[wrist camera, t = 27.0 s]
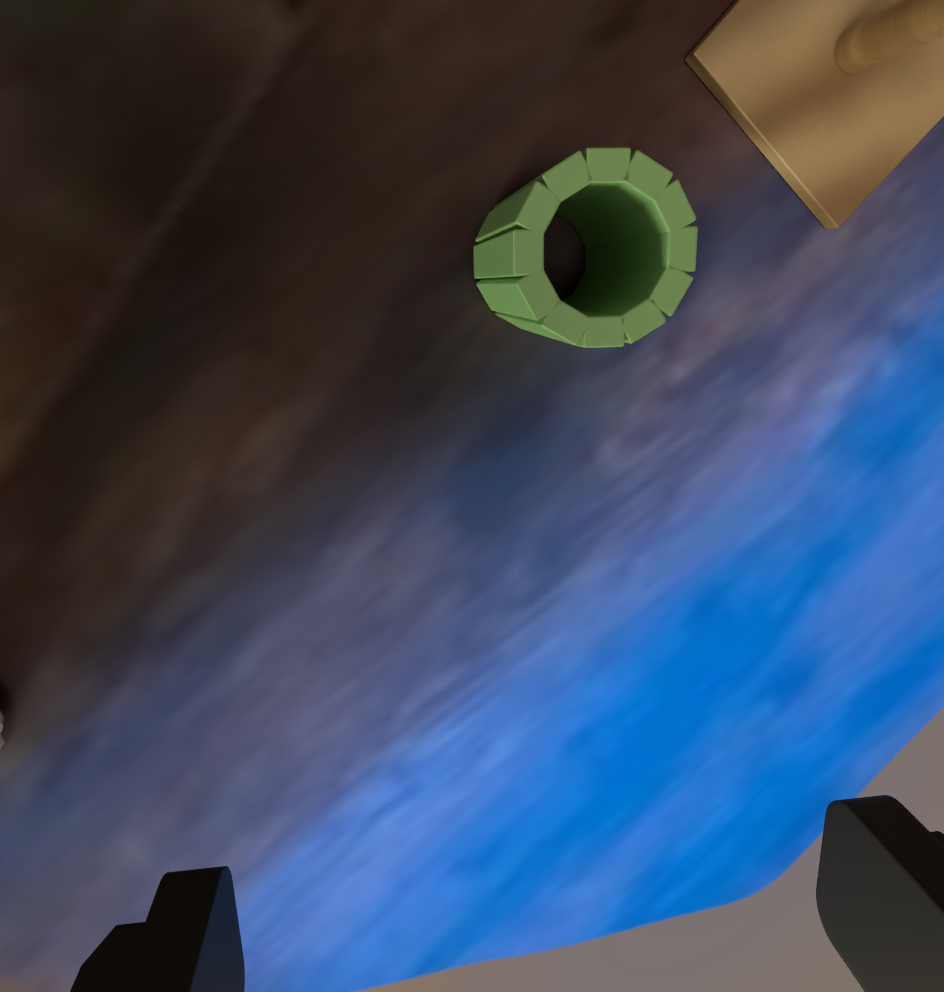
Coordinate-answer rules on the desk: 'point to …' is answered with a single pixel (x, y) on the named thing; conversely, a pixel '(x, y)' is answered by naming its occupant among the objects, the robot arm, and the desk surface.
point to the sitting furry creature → (0, 728)
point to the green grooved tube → (592, 249)
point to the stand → (828, 89)
